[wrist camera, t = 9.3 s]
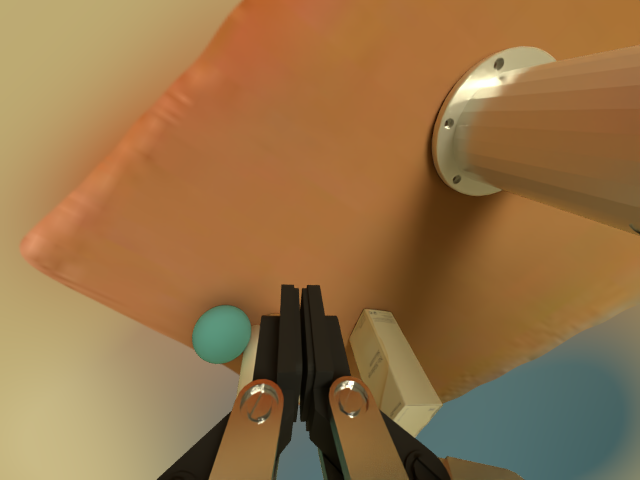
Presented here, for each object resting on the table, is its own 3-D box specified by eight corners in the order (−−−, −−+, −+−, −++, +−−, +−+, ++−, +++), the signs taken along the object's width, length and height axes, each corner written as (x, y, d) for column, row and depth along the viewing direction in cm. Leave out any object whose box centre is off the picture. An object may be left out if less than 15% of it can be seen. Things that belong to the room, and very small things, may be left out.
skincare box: (363, 307, 32) (405, 403, 21) (392, 311, 33) (445, 404, 22) (347, 340, 34) (377, 440, 24) (375, 342, 36) (415, 440, 25)
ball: (265, 332, 30) (255, 348, 24) (223, 362, 29) (201, 387, 23) (239, 292, 30) (222, 297, 24) (197, 320, 29) (168, 333, 23)
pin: (265, 324, 31) (261, 391, 23) (265, 337, 32) (261, 405, 24) (246, 325, 30) (235, 393, 23) (246, 338, 31) (236, 407, 24)
